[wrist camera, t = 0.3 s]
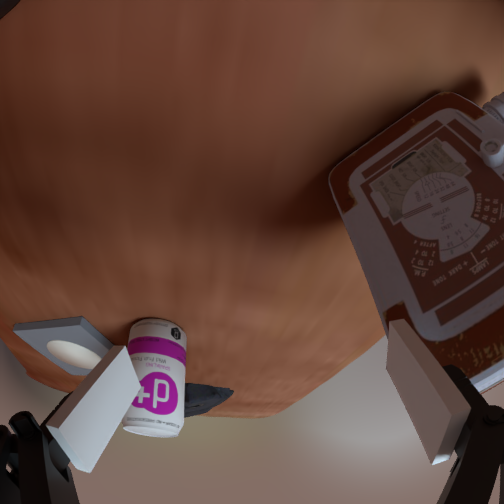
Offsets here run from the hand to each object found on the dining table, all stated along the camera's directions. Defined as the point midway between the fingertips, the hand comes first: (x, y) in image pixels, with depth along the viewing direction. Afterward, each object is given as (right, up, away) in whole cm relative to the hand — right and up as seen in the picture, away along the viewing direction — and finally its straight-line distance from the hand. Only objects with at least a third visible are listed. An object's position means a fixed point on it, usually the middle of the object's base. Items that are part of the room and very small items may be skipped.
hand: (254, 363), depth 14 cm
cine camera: (+15, +15, +8) cm, 23 cm away
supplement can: (-13, -6, +28) cm, 31 cm away
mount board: (-31, -12, +32) cm, 46 cm away
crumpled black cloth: (-14, -29, +52) cm, 61 cm away
